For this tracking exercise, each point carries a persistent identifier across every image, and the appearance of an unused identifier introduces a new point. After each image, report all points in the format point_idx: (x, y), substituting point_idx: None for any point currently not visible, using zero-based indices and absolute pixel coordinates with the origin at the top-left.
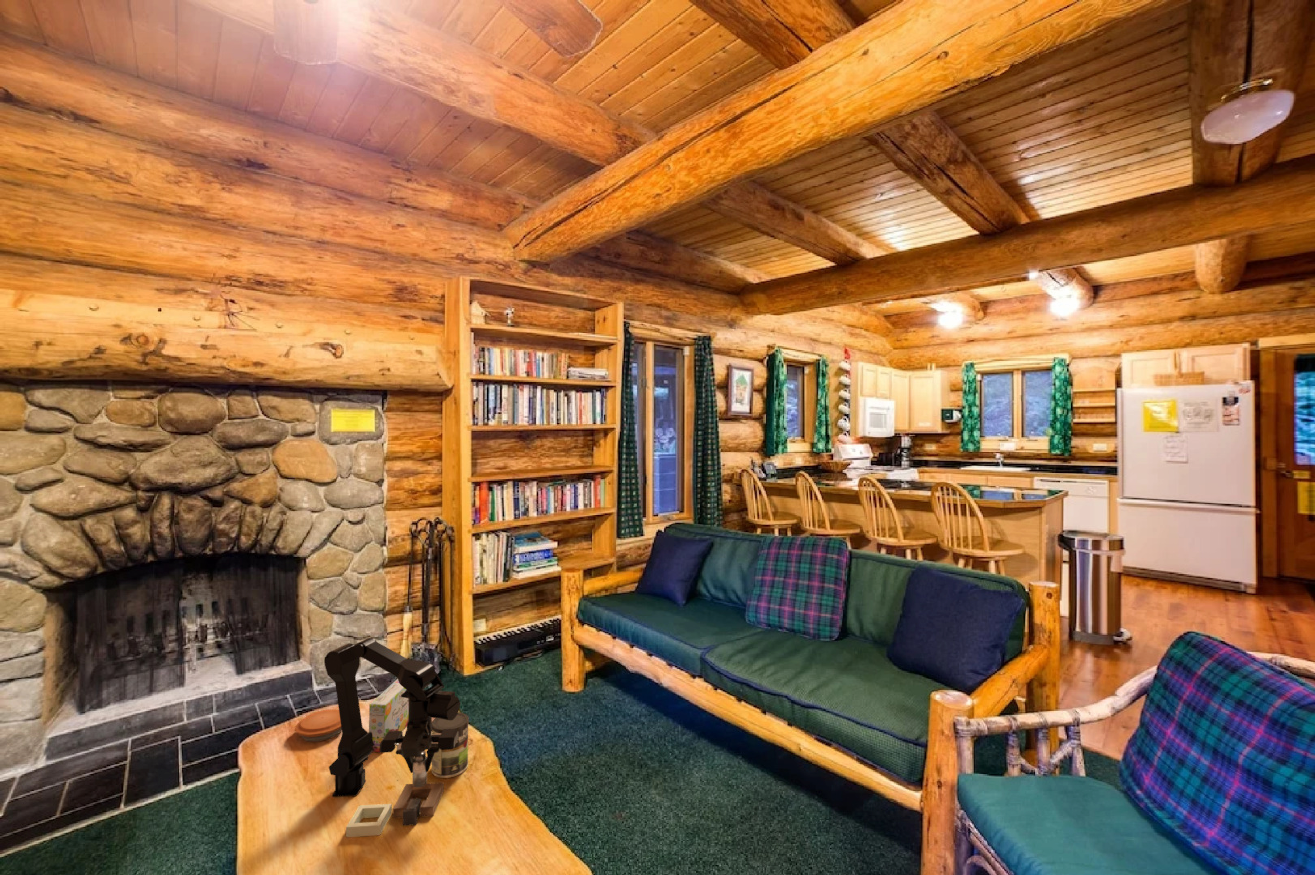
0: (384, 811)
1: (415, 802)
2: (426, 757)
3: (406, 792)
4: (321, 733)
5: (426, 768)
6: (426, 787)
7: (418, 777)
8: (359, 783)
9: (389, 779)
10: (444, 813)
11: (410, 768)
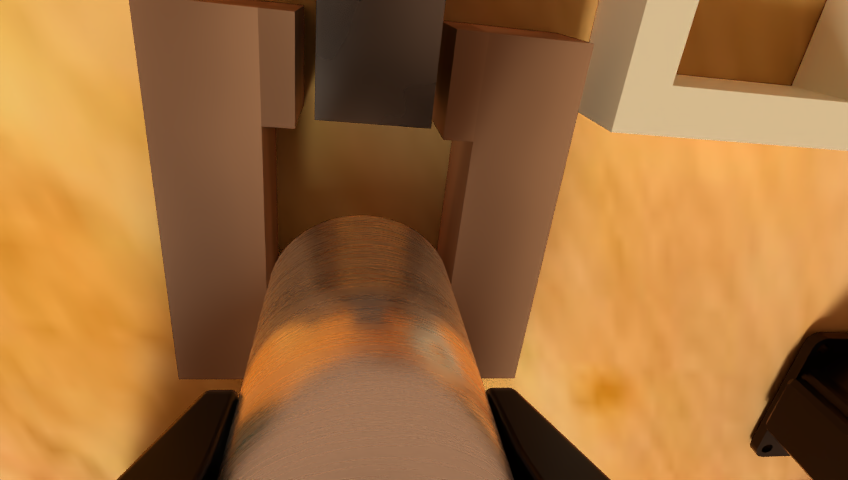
0: (678, 7)
1: (357, 44)
2: None
3: (494, 278)
4: None
5: (206, 445)
6: None
7: (358, 293)
8: (835, 407)
9: (615, 456)
10: (57, 16)
11: (547, 449)
